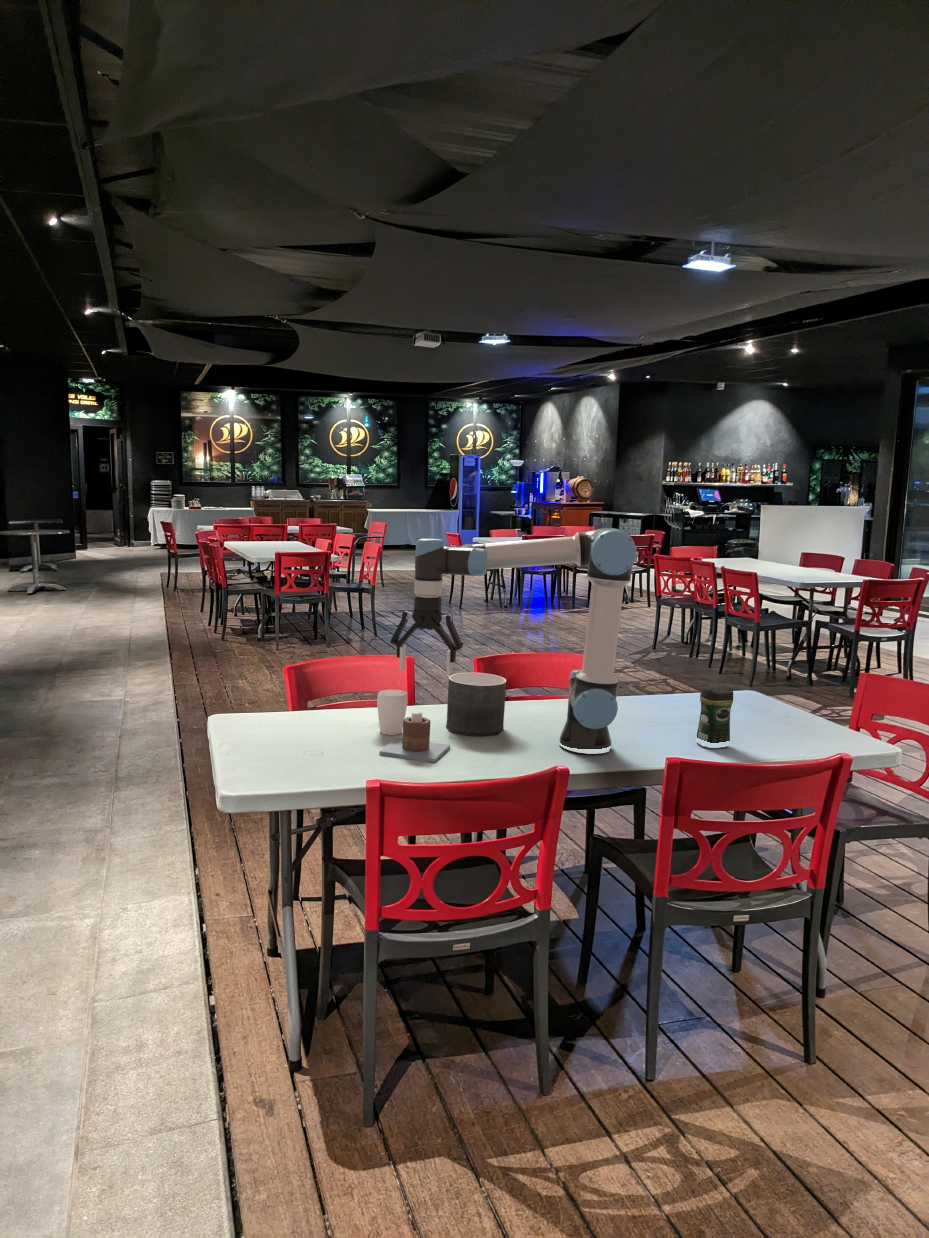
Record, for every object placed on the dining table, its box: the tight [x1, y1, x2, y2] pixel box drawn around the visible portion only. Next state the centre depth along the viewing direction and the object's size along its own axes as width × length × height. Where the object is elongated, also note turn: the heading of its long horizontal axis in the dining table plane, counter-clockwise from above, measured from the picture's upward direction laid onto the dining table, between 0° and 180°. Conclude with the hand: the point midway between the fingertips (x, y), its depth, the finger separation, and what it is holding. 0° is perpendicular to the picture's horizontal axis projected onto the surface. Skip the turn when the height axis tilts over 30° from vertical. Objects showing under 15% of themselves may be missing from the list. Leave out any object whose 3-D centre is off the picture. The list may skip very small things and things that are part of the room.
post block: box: [379, 711, 451, 764], centre depth 238 cm, size 16×14×11 cm
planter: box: [446, 672, 507, 737], centre depth 264 cm, size 18×18×16 cm
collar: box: [402, 716, 431, 752], centre depth 238 cm, size 7×7×8 cm
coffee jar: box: [696, 685, 734, 743], centre depth 258 cm, size 10×8×19 cm
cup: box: [376, 689, 408, 736], centre depth 255 cm, size 9×9×12 cm
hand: (425, 671), depth 236 cm, fingers open, 13 cm apart
